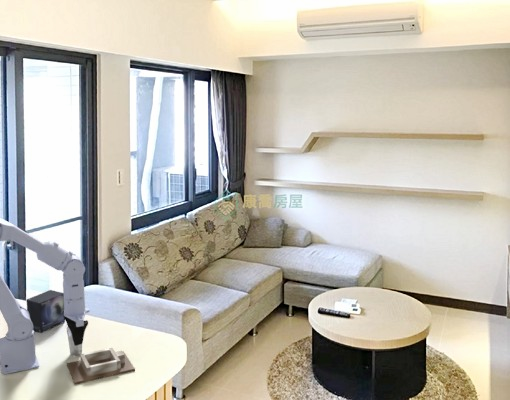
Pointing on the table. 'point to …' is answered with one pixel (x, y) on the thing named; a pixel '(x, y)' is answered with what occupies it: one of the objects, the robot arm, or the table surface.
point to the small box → (46, 310)
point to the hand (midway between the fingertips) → (76, 341)
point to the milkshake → (73, 348)
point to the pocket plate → (99, 365)
